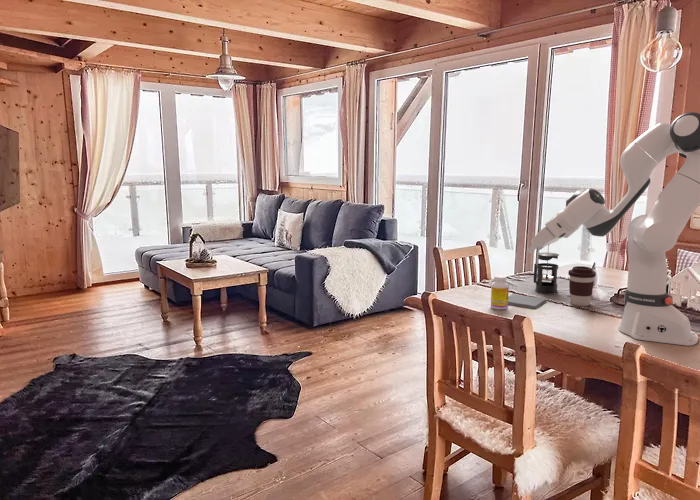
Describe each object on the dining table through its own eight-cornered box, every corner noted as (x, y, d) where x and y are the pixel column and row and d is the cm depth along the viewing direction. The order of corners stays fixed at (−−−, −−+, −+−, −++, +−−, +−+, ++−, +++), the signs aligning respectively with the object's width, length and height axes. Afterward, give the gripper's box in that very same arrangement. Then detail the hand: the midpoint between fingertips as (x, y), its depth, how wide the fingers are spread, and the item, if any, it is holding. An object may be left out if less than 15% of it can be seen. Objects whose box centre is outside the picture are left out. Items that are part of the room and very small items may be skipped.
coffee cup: (577, 308, 196) (579, 270, 194) (561, 301, 206) (563, 266, 204) (599, 306, 198) (601, 269, 196) (582, 300, 208) (584, 264, 206)
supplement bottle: (508, 310, 195) (510, 278, 193) (491, 309, 196) (492, 278, 194) (507, 305, 201) (508, 274, 199) (490, 305, 203) (491, 274, 201)
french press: (563, 292, 221) (566, 240, 217) (549, 295, 216) (552, 242, 212) (541, 287, 231) (543, 237, 227) (527, 289, 226) (529, 239, 222)
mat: (546, 301, 206) (546, 298, 206) (535, 309, 196) (535, 306, 196) (512, 296, 215) (513, 293, 215) (500, 303, 205) (501, 300, 205)
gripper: (565, 217, 189) (538, 240, 196) (546, 221, 173) (517, 247, 181) (577, 229, 186) (549, 252, 194) (558, 235, 171) (529, 260, 179)
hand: (533, 250), depth 188 cm, fingers open, 8 cm apart
